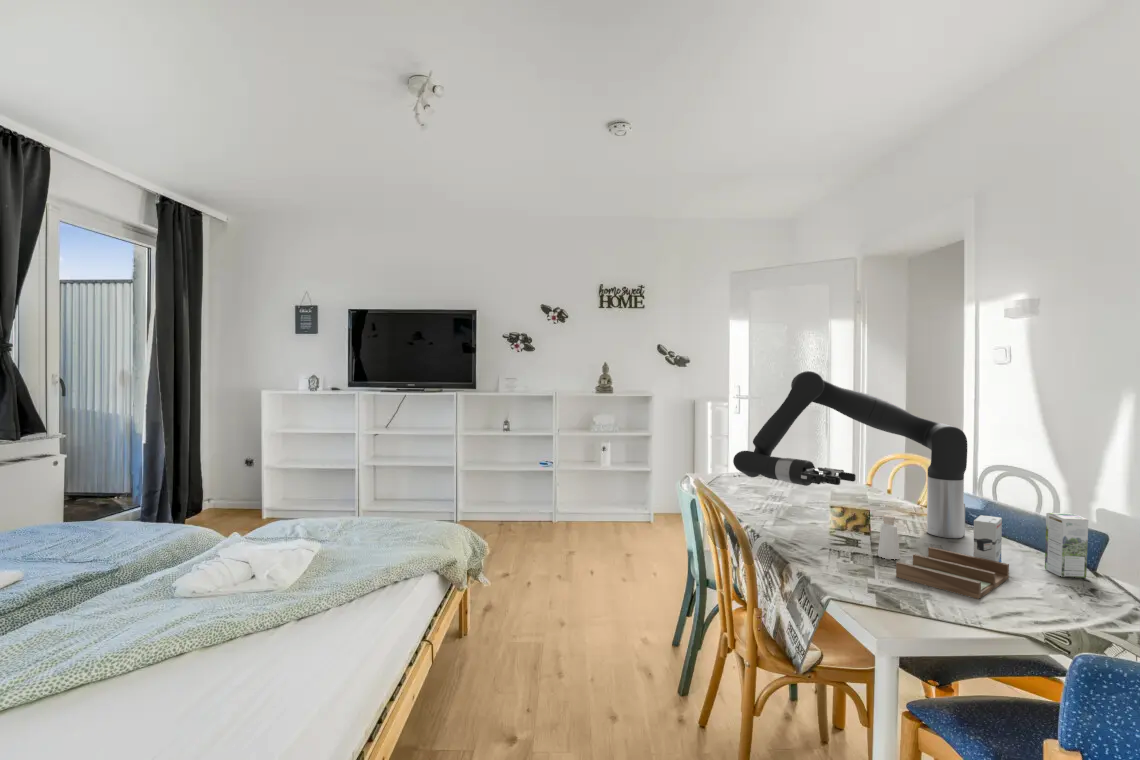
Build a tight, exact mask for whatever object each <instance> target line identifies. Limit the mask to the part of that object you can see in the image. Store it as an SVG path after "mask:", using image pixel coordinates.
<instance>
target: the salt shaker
mask: <svg viewBox="0 0 1140 760" xmlns="http://www.w3.org/2000/svg"><path fill="white" fill-rule="evenodd" d="M882 517H883V519H882V520H883V521H882V522H883V523H881V525H880V531H879V532H880V533H879V541H878V547H877V555H878V557H879V558H881V557H882V559H884V558H885V560H891V559H894V560H893V561H896V560H895V559H897V560H900V559H901V555H900V545H899V543H900V542H899V535H898V526H897V525H896V524H895V522H896V521H895V519H896V516H895V515H893V514H883V516H882Z"/></svg>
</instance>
